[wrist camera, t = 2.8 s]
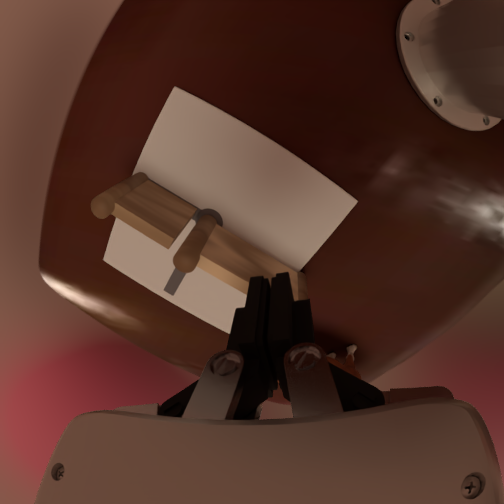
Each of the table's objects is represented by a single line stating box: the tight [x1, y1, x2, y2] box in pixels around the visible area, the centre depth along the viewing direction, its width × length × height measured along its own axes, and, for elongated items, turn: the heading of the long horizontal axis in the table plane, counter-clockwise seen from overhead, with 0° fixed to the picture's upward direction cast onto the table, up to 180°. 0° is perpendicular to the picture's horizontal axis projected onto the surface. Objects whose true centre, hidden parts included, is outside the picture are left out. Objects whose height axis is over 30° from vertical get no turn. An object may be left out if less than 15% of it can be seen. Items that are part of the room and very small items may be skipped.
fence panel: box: [173, 215, 308, 301], centre depth 21 cm, size 11×2×6 cm, turn 59°
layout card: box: [103, 87, 358, 334], centre depth 24 cm, size 19×17×1 cm
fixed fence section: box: [91, 172, 197, 250], centre depth 20 cm, size 2×6×6 cm, turn 59°
